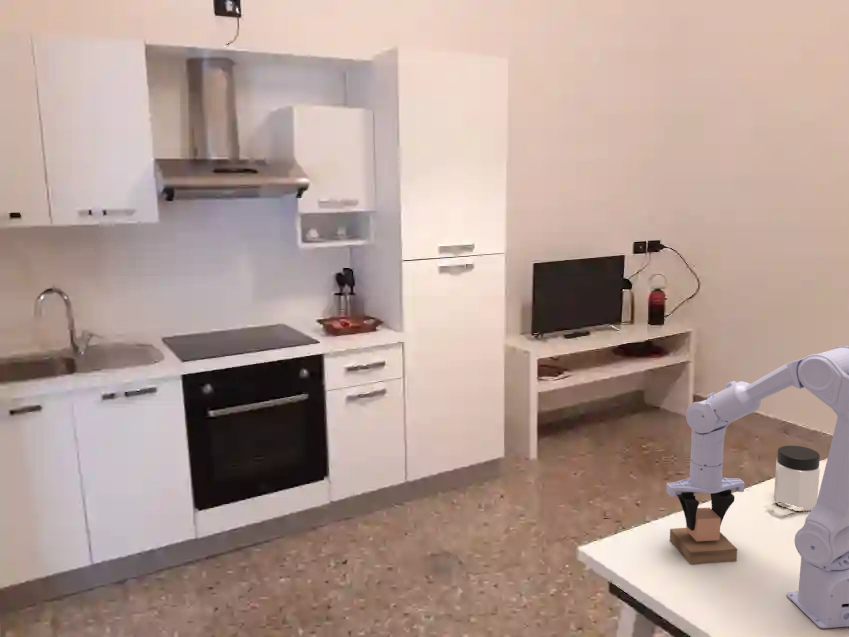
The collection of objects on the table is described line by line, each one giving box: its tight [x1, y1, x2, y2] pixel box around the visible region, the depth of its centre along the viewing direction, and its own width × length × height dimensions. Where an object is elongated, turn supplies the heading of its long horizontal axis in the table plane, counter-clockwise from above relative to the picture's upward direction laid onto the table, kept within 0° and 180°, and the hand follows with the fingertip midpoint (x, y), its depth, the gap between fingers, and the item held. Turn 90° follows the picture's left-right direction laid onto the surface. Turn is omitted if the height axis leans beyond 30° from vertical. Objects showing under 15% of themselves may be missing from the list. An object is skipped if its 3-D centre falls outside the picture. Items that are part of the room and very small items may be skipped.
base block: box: [669, 527, 738, 565], centre depth 134 cm, size 9×9×2 cm
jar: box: [773, 445, 821, 512], centre depth 151 cm, size 9×8×12 cm
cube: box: [685, 507, 721, 541], centre depth 134 cm, size 4×4×4 cm
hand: (703, 527), depth 134 cm, fingers closed on cube, 4 cm apart
